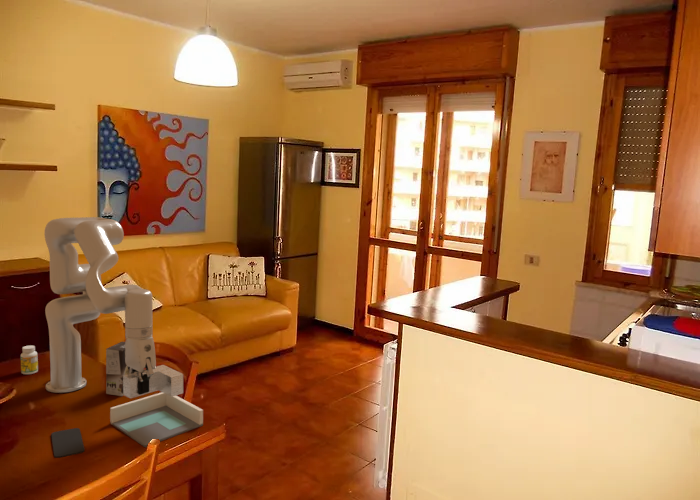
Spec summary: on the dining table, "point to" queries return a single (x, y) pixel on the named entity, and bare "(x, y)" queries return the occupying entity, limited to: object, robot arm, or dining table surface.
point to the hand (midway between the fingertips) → (139, 390)
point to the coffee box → (115, 369)
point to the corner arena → (156, 417)
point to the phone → (67, 442)
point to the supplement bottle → (29, 360)
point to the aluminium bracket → (155, 382)
